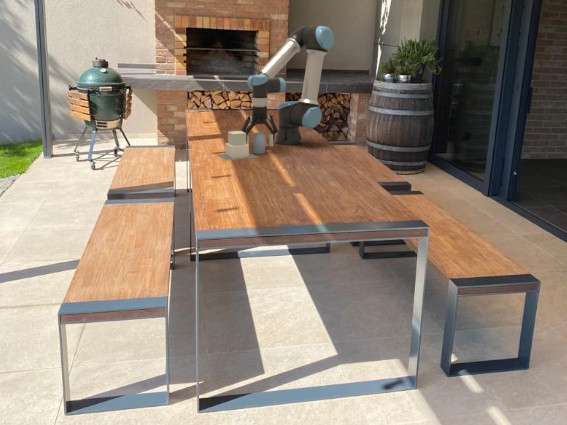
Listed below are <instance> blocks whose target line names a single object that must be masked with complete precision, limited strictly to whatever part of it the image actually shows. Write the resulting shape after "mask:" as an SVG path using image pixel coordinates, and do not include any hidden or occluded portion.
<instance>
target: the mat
mask: <svg viewBox="0 0 567 425" xmlns="http://www.w3.org/2000/svg"><path fill="white" fill-rule="evenodd" d="M216 156H218V157H219V158H220V159H222V160H223V161H234V160H245V159H246V160H247V159H258V158H260V157H259V156H257V155H255V154H253V153H251V152H249V157H245V158H233V159H232V158H230V157H228V156H227V155H226V153H221V154H220V153H219V154H216Z"/></svg>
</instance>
